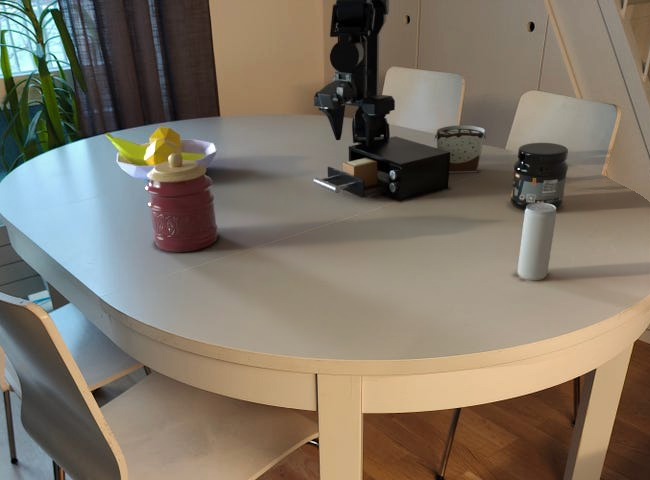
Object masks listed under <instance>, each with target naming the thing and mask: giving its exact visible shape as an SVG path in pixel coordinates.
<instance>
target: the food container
mask: <svg viewBox="0 0 650 480" xmlns="http://www.w3.org/2000/svg"><path fill="white" fill-rule="evenodd" d="M484 139H487V133H486V129H485V128H483V127H480V126H475V125H467V124H466V125H465V124H464V125H458V124H457V125H449V126H443V127H440V128H438V129H437V130H436V132H435V134H434V138H433V141H435V142H436V148H438V149H441V150H445V151H448V152H450V168H449V174H452V173H453V174H454V173H458V174H459V173H478V170H479V165H480V161H481V160H480V159H481V154H482V149H483V145H484Z"/></svg>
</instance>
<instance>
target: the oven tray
mask: <svg viewBox="0 0 650 480" xmlns="http://www.w3.org/2000/svg"><path fill="white" fill-rule="evenodd" d="M312 182H313V183H314V185H318V186H320V187H322V188H325V189H327V190H329V191H331V192H334V193H336V194H337V193H340V191H341V190H342V191H345V192H348V193H350V194H353V195H354V196H357V197H359V198H362V199H365V198H369V197H371V196H372V197H373V196H376V195H381V194H380V193H384V192H388V191H389V185H390V174H389V173H386V172H383V171H380V170H378V169H377V184H374V185H370V186H366V187H364V180H363V179H360V178H358V177H355V176H353V175H350V174H347V173H345V172H343V170H339V169H337V168H335V167H332V166H327V177H323V178H319V177H314V178H313V181H312Z"/></svg>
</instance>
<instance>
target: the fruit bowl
mask: <svg viewBox="0 0 650 480" xmlns="http://www.w3.org/2000/svg"><path fill="white" fill-rule="evenodd" d="M105 137H106V138H108V140H110V141H111V144H112V145H113V146H114V147H115V148H116V149H117V150H118V151H119V152H117V153H116V163H117V164H118V166H119V167H120V168H121V170H123V171H124V172H126V173H127V174H128V175H130V176H131V177H132V178H137V179H142V180H148V181H151V179H149V177H148V173H149V172H150V171H151V170H153V169H154V167H155V166H157V165H158V164H161V163H164V162H168V161H169V157H170V155H171V154H174V153H177V154H179V155H180V156H181V157H182V160H192V161H195V162H197V163H198V164H200V165H202V166H204V167H205V168H206V169H207V168H208V167H210V165H211V163H212V162H213V161H214V158H215V157H216V155H217V153H218V149H217V146H216V144H215V143H214V142H209V141H205V140H199V139H194V138H192V139H191V138H189V139H182V138H181V135H180V133H178V132H176V131H175V130H174V129H172V128H170V127H168V126H164V125H163V126H162V125H159V127H158V128H157V129H156V130H155V131H154V132H153V133H152V134H151V135H150V137H148V139H149V142H147V143H141V144H139V143H135V142H132V141H129V140H127V139H123V138H119V137H116V136H113V135H111V134H110V133H109V132H106V133H105Z"/></svg>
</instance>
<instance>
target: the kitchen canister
mask: <svg viewBox="0 0 650 480" xmlns="http://www.w3.org/2000/svg"><path fill="white" fill-rule="evenodd" d="M206 173H207V168H205V167H204V166H202V165H200V164H198V163H197V162H195V161H192V160H182V157H181V156H180V155H179V154H177V153H174V154H171V155H170V157H169V161H168V162H164V163H161V164H158V165H157V166H155V167H154V169H153V170H151V171H150V172H149V173H148V177H149V179H151V180H149V181H148V183H146V184H145V191H146V192H147V193H148V194H149V201H148V204H147V206H148V208H149V211H150V219H151V224H152V228H153V232H152V235H153V239H154V241H155V244H156V247H158V248H159V249H160V250H163V251H165V252H166V251H167V252H173V253H185V252H193V251H199V250H201V249H202V250H203V249H205V248H208V247H209V246H212V245H213V244H214V243H215V242H216V241H217V239H218V234H219V229H218V224H217V218H216V210H215V201H214V200H215V196H214V194H213V193H212V190H211V186H212V184H213V180H212V178H211V177H210V176H208V175H206Z"/></svg>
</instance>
